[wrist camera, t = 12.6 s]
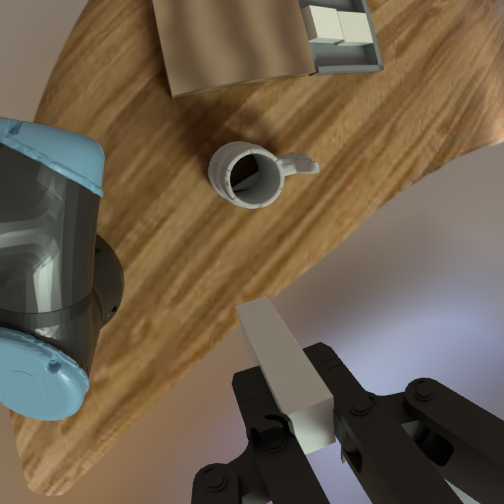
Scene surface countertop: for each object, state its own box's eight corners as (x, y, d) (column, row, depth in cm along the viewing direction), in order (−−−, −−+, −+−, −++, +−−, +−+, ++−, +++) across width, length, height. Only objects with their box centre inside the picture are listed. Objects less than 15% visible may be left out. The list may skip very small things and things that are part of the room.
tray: (309, 76, 39) (319, 72, 36) (288, -9, 33) (296, -17, 31) (372, 72, 41) (383, 70, 38) (351, -6, 35) (362, -12, 32)
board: (171, 100, 36) (172, 95, 32) (152, 7, 30) (151, -5, 27) (303, 76, 39) (315, 71, 35) (281, -9, 33) (291, -20, 30)
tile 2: (305, 42, 35) (318, 37, 33) (297, 11, 33) (309, 5, 31) (332, 43, 37) (344, 39, 35) (324, 13, 35) (336, 9, 33)
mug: (199, 149, 39) (212, 153, 28) (285, 128, 41) (327, 127, 30) (214, 205, 42) (232, 229, 31) (296, 182, 44) (339, 198, 33)
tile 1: (373, 42, 36) (364, 45, 38) (365, 13, 34) (356, 17, 36) (345, 41, 35) (336, 45, 37) (337, 11, 33) (328, 16, 36)
